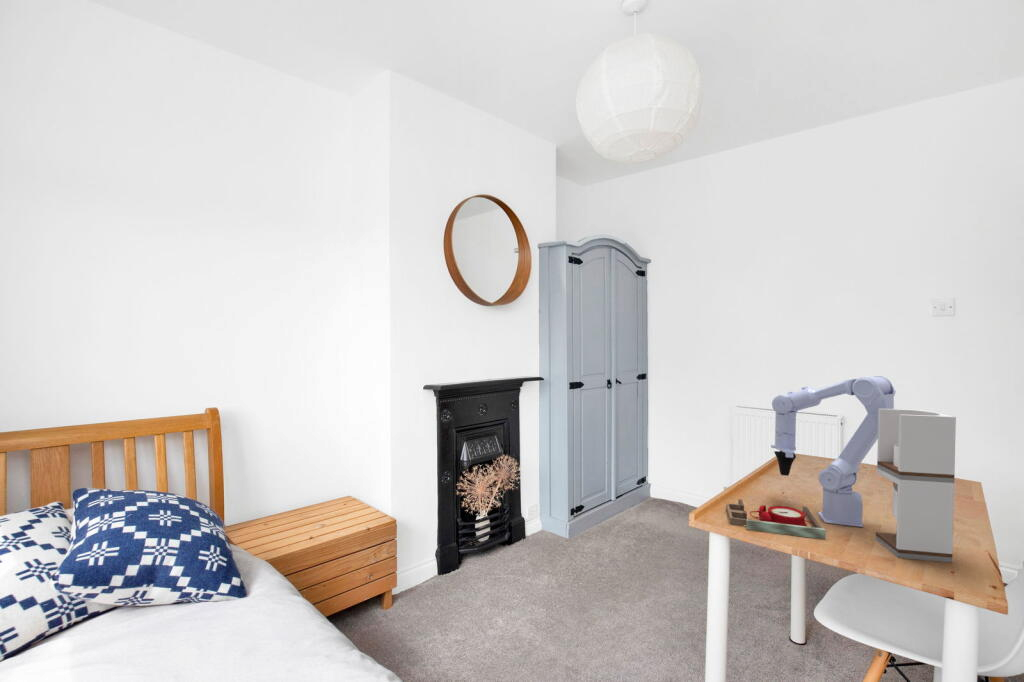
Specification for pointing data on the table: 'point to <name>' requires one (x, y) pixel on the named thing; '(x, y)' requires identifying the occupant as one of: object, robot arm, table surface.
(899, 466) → the display case
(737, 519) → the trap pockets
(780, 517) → the alarm clock
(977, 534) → the table surface
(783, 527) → the wall
